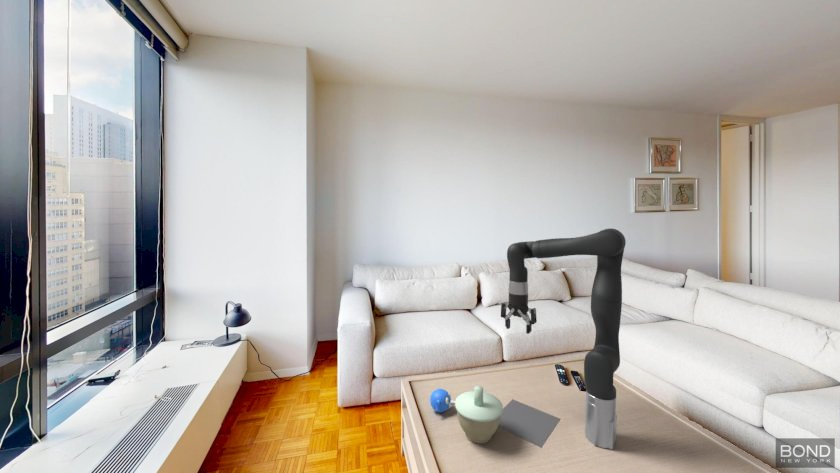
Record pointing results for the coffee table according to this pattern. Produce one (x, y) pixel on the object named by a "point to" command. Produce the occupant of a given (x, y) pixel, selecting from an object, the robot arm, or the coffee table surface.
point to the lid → (478, 405)
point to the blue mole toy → (441, 400)
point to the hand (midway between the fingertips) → (518, 330)
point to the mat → (527, 422)
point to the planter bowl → (478, 429)
